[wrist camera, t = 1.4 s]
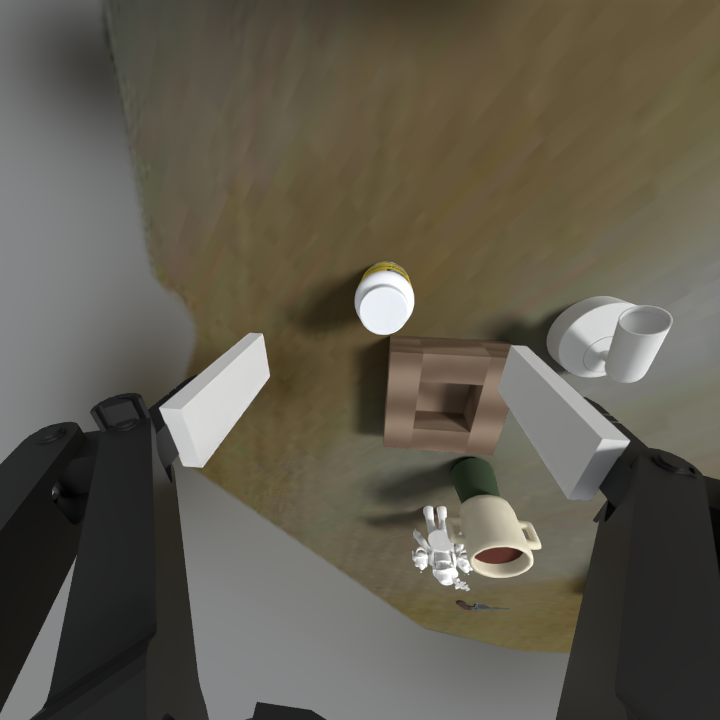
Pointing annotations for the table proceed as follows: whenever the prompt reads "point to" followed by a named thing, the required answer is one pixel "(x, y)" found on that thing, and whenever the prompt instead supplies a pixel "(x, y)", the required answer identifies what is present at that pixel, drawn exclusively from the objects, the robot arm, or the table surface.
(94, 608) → the robot arm
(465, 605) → the knife
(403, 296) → the supplement bottle
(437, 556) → the hat wearing toy figure
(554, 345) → the white tilted tube stand
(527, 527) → the character mug
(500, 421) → the well block
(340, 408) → the table surface
